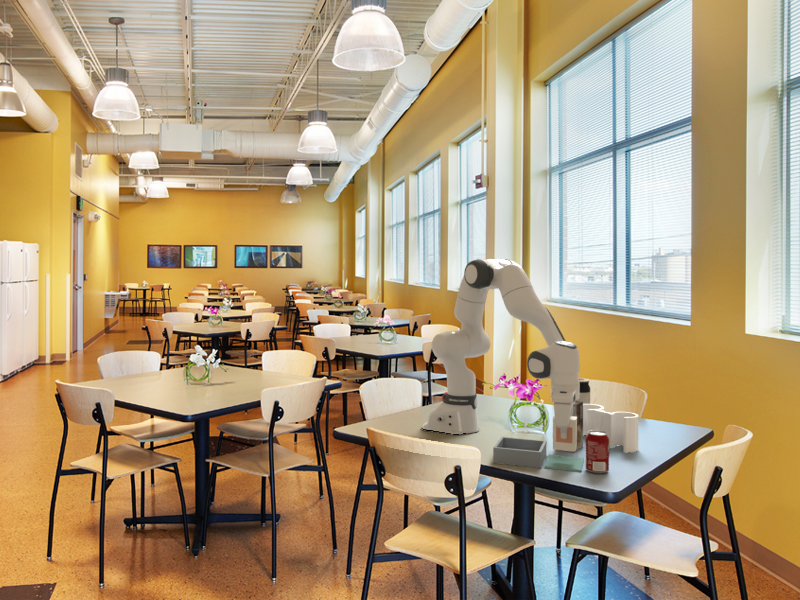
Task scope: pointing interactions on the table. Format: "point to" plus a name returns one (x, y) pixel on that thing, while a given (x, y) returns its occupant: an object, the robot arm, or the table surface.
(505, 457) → the parts bin
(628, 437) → the bracket
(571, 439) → the label box
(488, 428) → the table surface
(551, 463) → the mat
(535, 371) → the robot arm
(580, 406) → the coffee box
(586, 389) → the travel mug
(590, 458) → the soda can
